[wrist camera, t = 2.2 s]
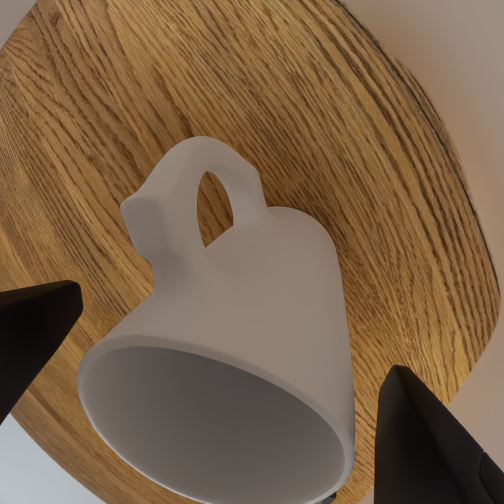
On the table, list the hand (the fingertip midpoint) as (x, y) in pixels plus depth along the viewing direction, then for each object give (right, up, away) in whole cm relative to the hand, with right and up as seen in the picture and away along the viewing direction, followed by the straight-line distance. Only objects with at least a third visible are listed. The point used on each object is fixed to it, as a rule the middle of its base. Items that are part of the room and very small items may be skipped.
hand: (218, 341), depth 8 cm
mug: (+2, +3, +9) cm, 10 cm away
